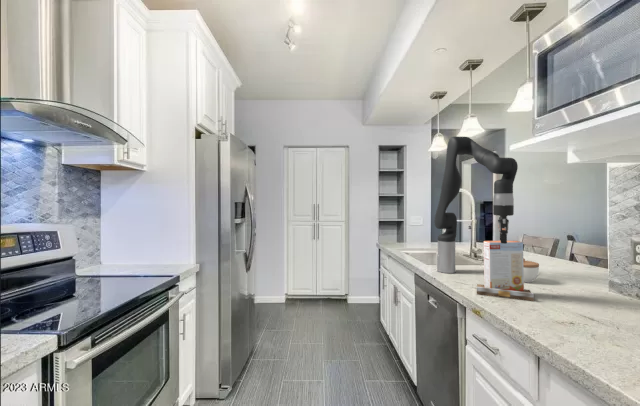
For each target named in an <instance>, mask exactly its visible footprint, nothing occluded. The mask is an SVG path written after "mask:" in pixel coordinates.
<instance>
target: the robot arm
mask: <svg viewBox="0 0 640 406" xmlns="http://www.w3.org/2000/svg"><path fill="white" fill-rule="evenodd" d="M458 155H468V156H473V158H474V159H473V160H475V161H476V162H477V163H478V164H480V165H481V166H484V167H485V168H486V169H487V170H488V171H489V172H491V174H492V173H493V174H496V175H501V178H500V179H498V180H495V181H494V183H493V199H492V200H493V201H492V204H493V205H492V207H493V209H492V212H493V215H494V216H499V218H498V219H497V226H498V227H497V228H498V229H499V241H501V243H504V244H506V243H507V241H508V233H509V224H510V220H509V219H508V217H509V216H510V217H511V216H514V215H515V214H514V212H515V211H514V210H515V209H514V207H515V206H514V205H515V204H514V181H515V179H516V175H517V172H518V169H519V167H518V162H517V160H516V159H515V158H512V157H500V156H499V154H498V153H496V152H495V151H492V150H490V149H487V148H485V147H484V146H481V145H480V144H479V143H477V142H476V141H474V140H473V139H472V138H470V137H468V136H451V137H450V139H449V140H448V141H447V146H446V155H445V156H446V157H445V165H444V166H445V167H444V171H443V172H444V174H443V177H442V182H441V190H440V195H439V201H438V204H437V208H436V210H435V211H436V212H435V215H434V222H433V223H434V227H435V228H436V229H439V230H445V231H444V232H443V233H442V234H438V236H437V254H436V272H439V273H444V274H454V273H456V237H457V231H458V229H457V228H458V227H457V226H458V218H457V216H456V215H457V214H455V213H454V212H447V211H448V208H449V206H450V204H451V203H452V202H453V201H454V199H456V197H457V196H458V195H459V193H460V190H461V186H462V177H461V174H460V172H459V169H458V167H457V158H458Z"/></svg>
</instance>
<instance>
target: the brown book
mask: <svg viewBox="0 0 640 406" xmlns="http://www.w3.org/2000/svg"><path fill="white" fill-rule="evenodd" d="M476 295H478V296H479V295H480V296H487V297H488V296H489V297H496V298H501V299H502V298H503V299H511V300H520V301H528V302H534V301H535V300H534V297H535V294H534V292H532V291H531V290H530V289H526V288H524V291H511V290H502V289H493V288H484V284H480V283H479V284H477V283H476Z"/></svg>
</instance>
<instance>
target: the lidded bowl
mask: <svg viewBox="0 0 640 406" xmlns="http://www.w3.org/2000/svg"><path fill="white" fill-rule="evenodd" d="M523 265H524V283H529V284H530V283H533V281H535V280H536V279H537V278H538V276H539V272H540V269H539V268H540V263H538V262H536V261H530V260H526V259H525V258H524V257H523Z"/></svg>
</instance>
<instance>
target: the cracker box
mask: <svg viewBox="0 0 640 406" xmlns="http://www.w3.org/2000/svg"><path fill="white" fill-rule="evenodd" d="M523 258H524V242H523V241H519V240H507V243H506V244H504V243H501V241H500V240H484V241H483V282H484V283H483V285H484V288H493V289H502V290H511V291H524V289H525V286H524V285H525V282H524V265H523Z"/></svg>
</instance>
